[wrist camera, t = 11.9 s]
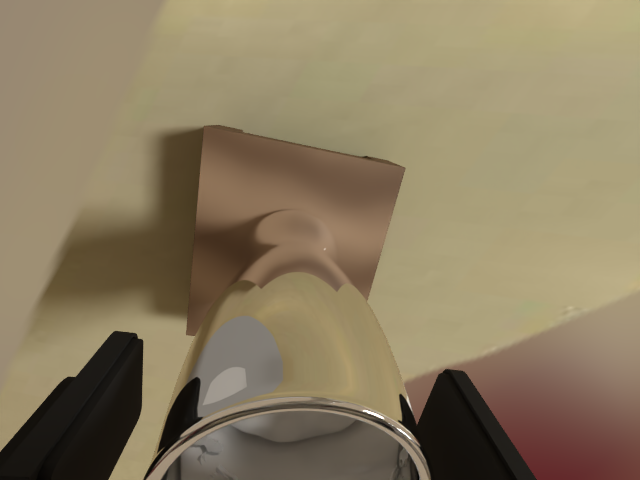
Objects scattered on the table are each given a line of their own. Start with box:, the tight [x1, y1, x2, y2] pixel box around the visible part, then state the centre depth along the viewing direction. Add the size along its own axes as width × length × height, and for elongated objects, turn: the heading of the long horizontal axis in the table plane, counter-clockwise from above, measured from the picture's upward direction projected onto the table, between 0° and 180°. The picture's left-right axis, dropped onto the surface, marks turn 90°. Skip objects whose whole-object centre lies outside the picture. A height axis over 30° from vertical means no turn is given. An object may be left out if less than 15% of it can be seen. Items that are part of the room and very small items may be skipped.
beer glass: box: [143, 210, 435, 480], centre depth 14 cm, size 7×7×15 cm
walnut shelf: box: [186, 125, 405, 336], centre depth 23 cm, size 14×12×4 cm
